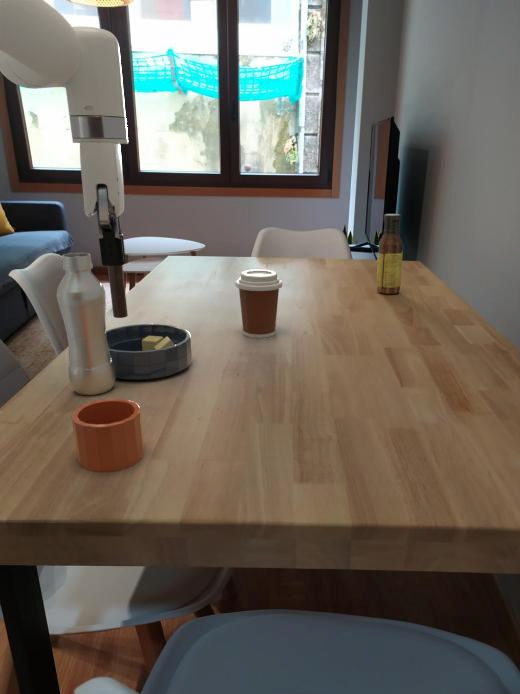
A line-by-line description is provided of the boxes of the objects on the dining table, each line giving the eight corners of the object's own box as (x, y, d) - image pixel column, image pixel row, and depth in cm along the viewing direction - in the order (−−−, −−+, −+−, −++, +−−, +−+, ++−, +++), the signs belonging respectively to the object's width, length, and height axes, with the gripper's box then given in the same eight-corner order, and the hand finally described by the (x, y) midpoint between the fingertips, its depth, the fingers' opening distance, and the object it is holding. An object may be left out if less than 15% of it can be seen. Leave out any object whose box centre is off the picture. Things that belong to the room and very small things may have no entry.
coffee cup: (249, 342, 103) (248, 279, 98) (228, 329, 110) (227, 270, 106) (290, 335, 107) (291, 275, 103) (268, 324, 115) (268, 267, 110)
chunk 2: (170, 339, 89) (166, 336, 91) (157, 350, 88) (153, 346, 91) (180, 352, 90) (177, 348, 92) (167, 363, 90) (164, 358, 92)
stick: (112, 318, 86) (102, 226, 80) (114, 314, 88) (103, 225, 82) (127, 317, 86) (117, 226, 81) (128, 314, 88) (118, 225, 83)
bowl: (92, 385, 82) (88, 354, 81) (103, 352, 96) (100, 325, 94) (193, 379, 85) (191, 349, 83) (190, 348, 99) (188, 322, 97)
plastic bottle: (124, 384, 83) (110, 251, 75) (104, 402, 77) (87, 260, 69) (85, 381, 84) (67, 249, 76) (62, 399, 78) (39, 258, 70)
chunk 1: (141, 340, 92) (148, 335, 95) (142, 355, 93) (149, 350, 96) (156, 341, 92) (163, 336, 94) (158, 357, 93) (164, 351, 95)
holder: (74, 478, 59) (66, 429, 57) (84, 446, 65) (77, 400, 63) (142, 472, 60) (138, 424, 58) (145, 441, 67) (141, 396, 64)
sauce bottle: (404, 292, 144) (412, 214, 137) (391, 296, 140) (398, 216, 132) (383, 288, 148) (390, 212, 141) (370, 292, 144) (376, 214, 136)
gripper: (80, 133, 83) (95, 255, 90) (61, 129, 69) (80, 274, 76) (130, 134, 84) (141, 254, 92) (122, 130, 70) (136, 273, 77)
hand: (114, 262), depth 84 cm, fingers closed on stick, 2 cm apart
